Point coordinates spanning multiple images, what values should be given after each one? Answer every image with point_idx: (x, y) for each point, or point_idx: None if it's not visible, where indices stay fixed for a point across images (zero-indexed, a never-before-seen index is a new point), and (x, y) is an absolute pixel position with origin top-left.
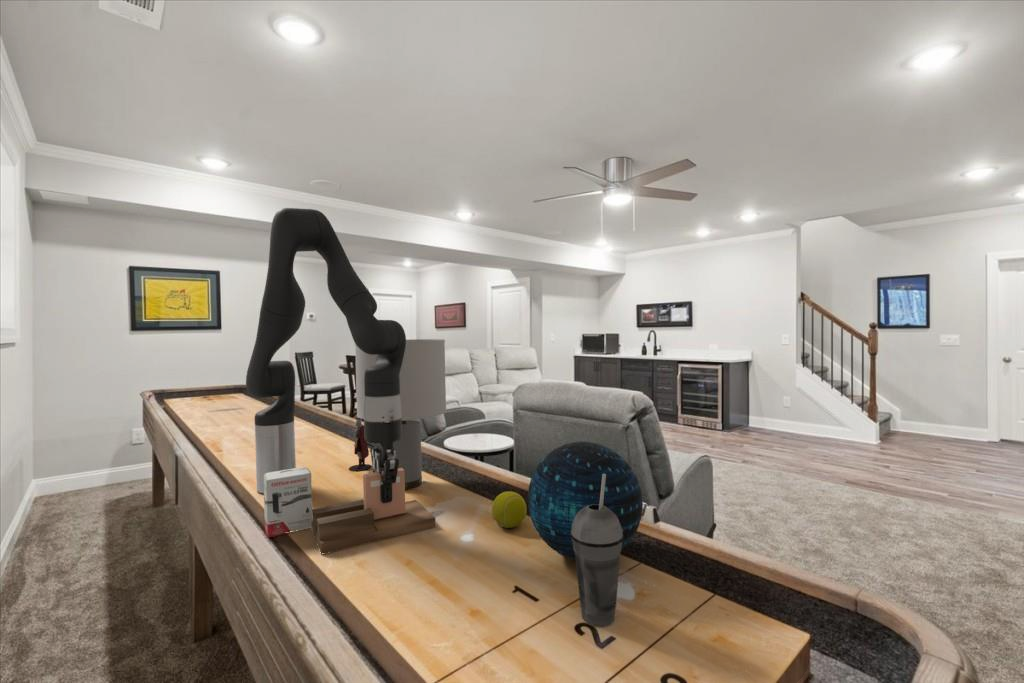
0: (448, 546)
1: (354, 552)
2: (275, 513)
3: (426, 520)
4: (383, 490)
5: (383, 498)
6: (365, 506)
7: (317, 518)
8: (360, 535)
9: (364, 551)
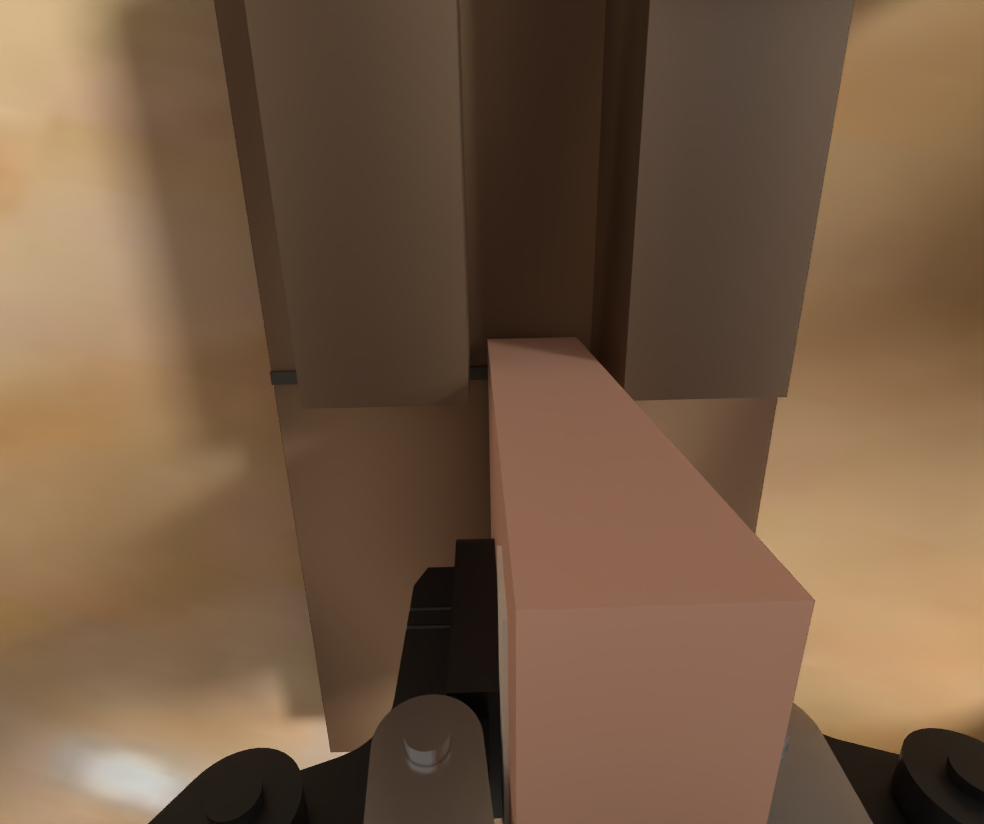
0: (50, 680)
1: (172, 159)
2: None
3: (324, 698)
4: (435, 655)
5: (453, 580)
6: (525, 370)
7: None
8: (254, 232)
9: (161, 233)
